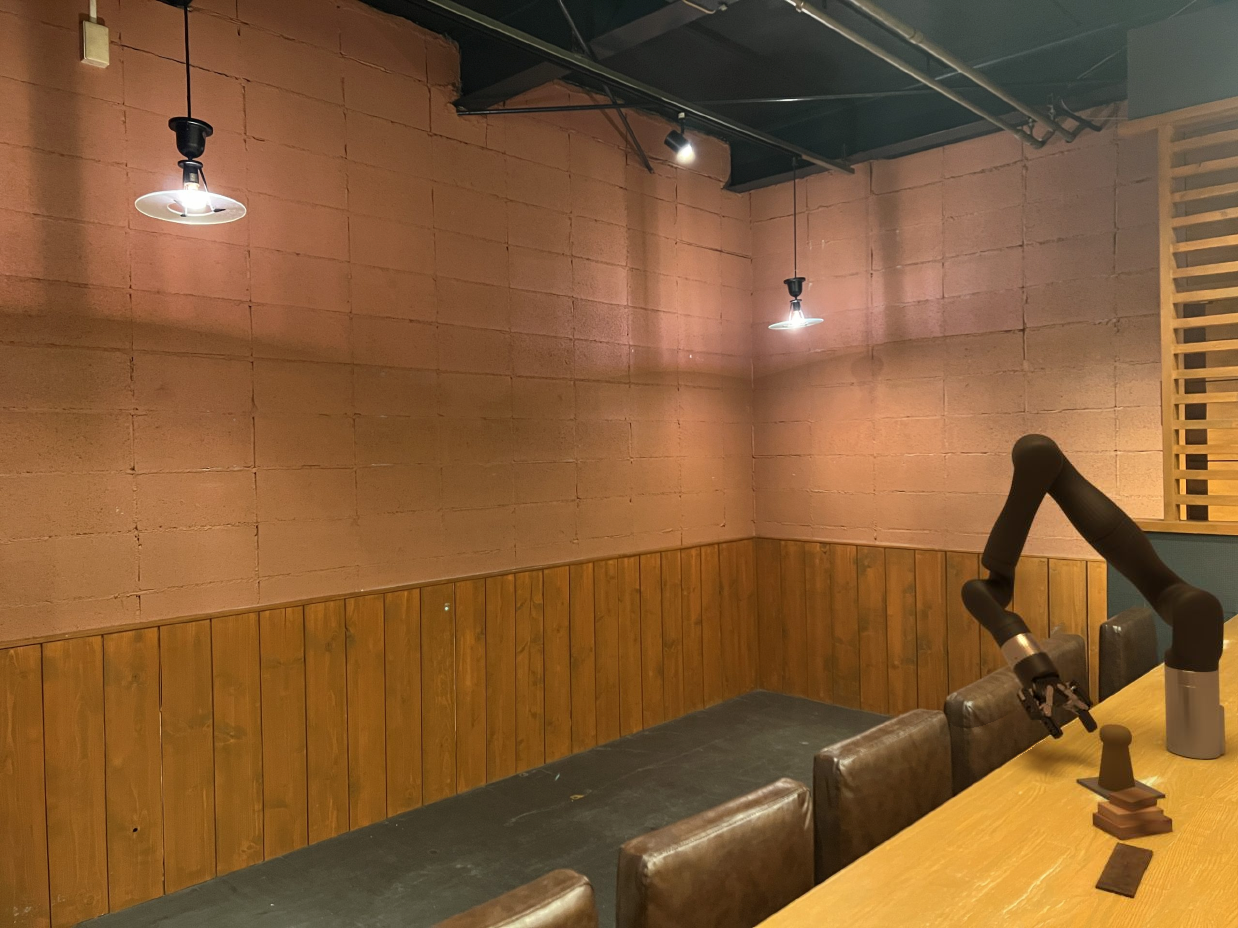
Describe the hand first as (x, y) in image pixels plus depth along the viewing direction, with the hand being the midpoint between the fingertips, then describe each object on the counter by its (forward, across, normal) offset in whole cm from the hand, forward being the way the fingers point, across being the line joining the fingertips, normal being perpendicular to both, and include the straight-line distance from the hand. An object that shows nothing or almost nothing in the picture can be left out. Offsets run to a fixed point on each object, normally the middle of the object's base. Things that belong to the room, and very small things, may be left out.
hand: (1076, 733), depth 169 cm
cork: (+11, 0, -1) cm, 11 cm away
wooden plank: (+28, -24, -16) cm, 40 cm away
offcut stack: (+20, -11, -10) cm, 25 cm away
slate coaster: (+12, 0, -1) cm, 12 cm away
